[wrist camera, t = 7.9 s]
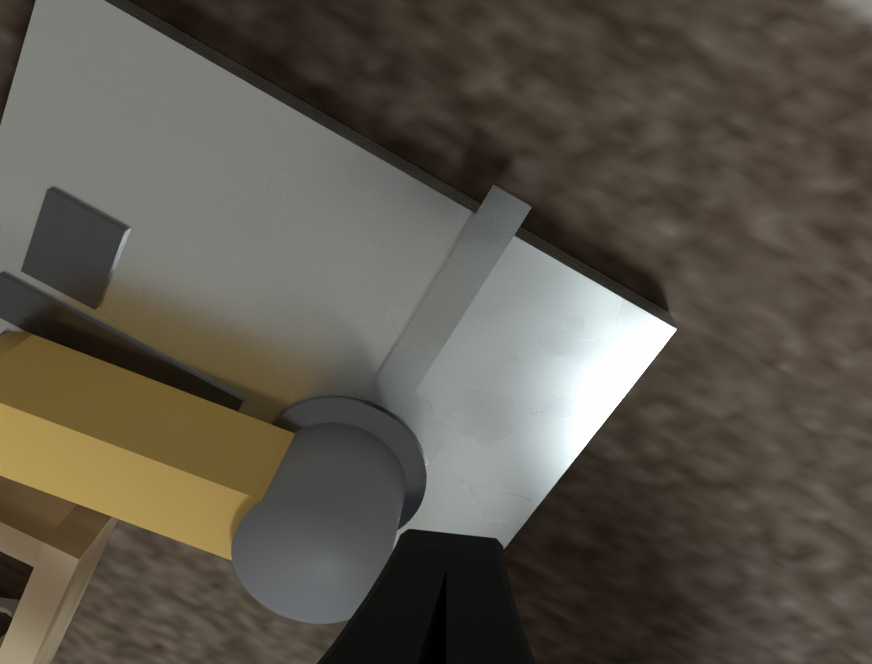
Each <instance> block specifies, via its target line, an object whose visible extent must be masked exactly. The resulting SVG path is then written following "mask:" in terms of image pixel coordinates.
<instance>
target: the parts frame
mask: <svg viewBox="0 0 872 664" xmlns="http://www.w3.org/2000/svg"><path fill="white" fill-rule="evenodd" d="M117 520H118V519H117V518H115V517H112V516H109V515H106V514H104V513H101V512H98V511H95V510H93V509H90V508H87V507H84V506H82V505H79V504H76V503H74V502H71V501H68V500H65V499H63V498H60V497H57V496H54V495H52V494H49V493H46V492H44V491H41V490H38V489H35V488H33V487H30V486H27V485H24V484H22V483H19V482H16V481H13V480H11V479H8V478H5V477H3V476H0V551H1V552H3V553H5V554H7V555H9V556H11V557H13V558H15V559H18V560H20V561H22V562H24V563H26V564H28V565H30V566H32V567H34V568H33V571H32V573H31V576H30V578H29V581H28V583H27V585H26V588H25V590H24V593H23V595H22V597H21V600H20V602H19V605H18V607H17V609H16V612H15V614H14V617H13V619H12V622H11V624H10V626H9V629H8V631H7V634H6V636H5V638H4V641H3V643H2V646H1V648H0V664H51V662H52V660H53V658H54V656H55V654H56V652H57V650H58V647H59V645H60V643H61V641H62V639H63V637H64V634H65V632H66V630H67V628H68V626H69V624H70V622H71V619H72V617H73V615H74V613H75V611H76V609H77V606H78V604H79V602H80V600H81V598H82V596H83V594H84V591H85V589H86V587H87V585H88V583H89V581H90V578H91V576H92V574H93V572H94V570H95V568H96V566H97V563H98V561H99V559H100V557H101V555H102V553H103V550H104V548H105V546H106V544H107V542H108V540H109V538H110V535H111V533H112V531H113V529H114V527H115V525H116V522H117Z"/></svg>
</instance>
